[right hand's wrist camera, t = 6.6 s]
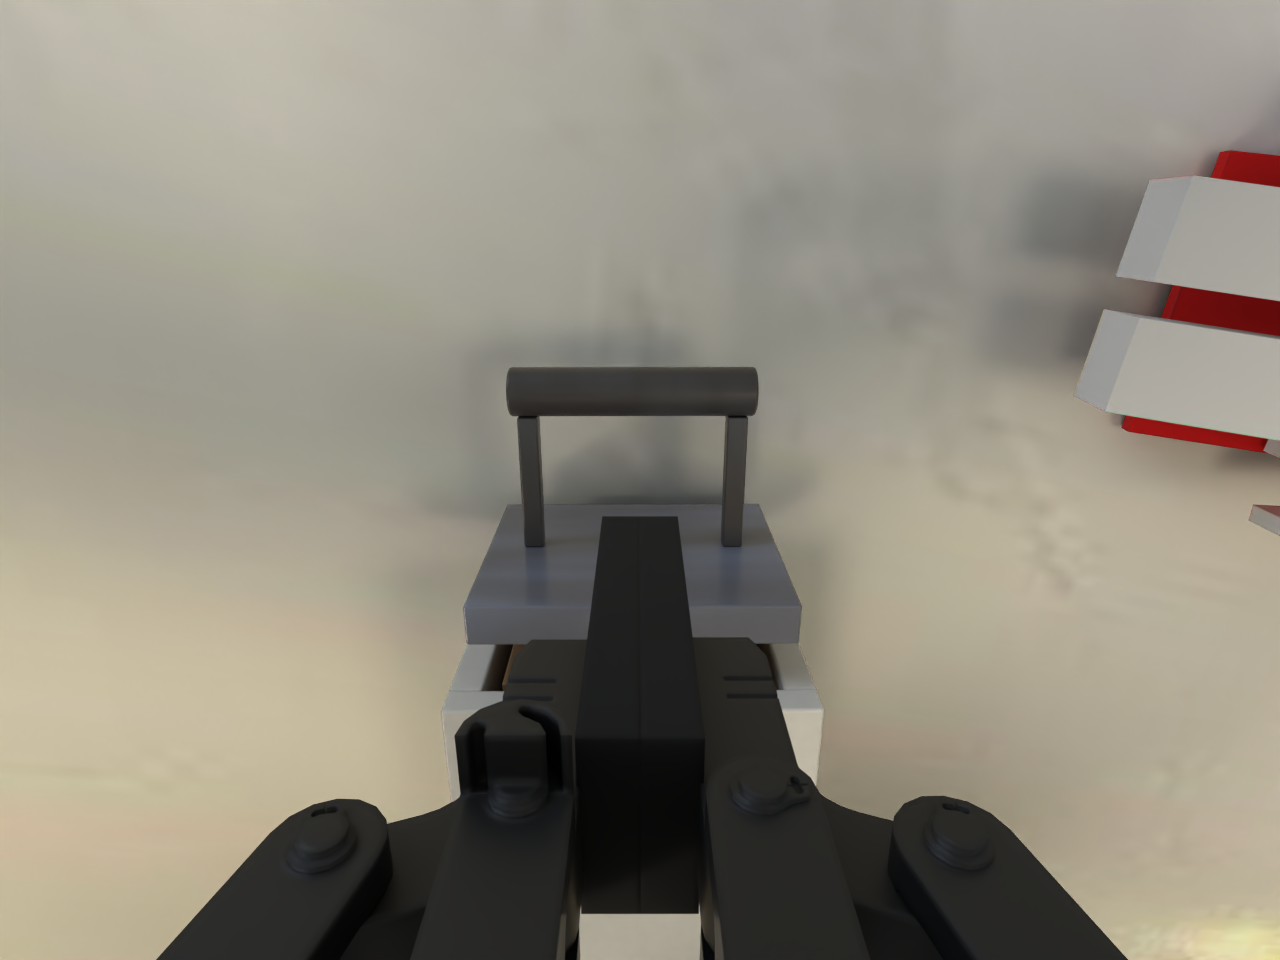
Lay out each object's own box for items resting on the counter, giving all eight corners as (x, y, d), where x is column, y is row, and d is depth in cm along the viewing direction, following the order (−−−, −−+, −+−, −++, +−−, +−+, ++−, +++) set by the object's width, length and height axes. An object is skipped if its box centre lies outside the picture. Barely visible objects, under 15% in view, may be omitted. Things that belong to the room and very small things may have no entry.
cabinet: (499, 557, 28) (439, 711, 20) (767, 556, 28) (825, 709, 20) (523, 888, 34) (485, 1120, 25) (745, 887, 34) (783, 1118, 25)
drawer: (496, 347, 25) (442, 400, 18) (768, 347, 25) (820, 400, 18) (529, 841, 32) (500, 1015, 25) (739, 840, 32) (767, 1013, 25)
